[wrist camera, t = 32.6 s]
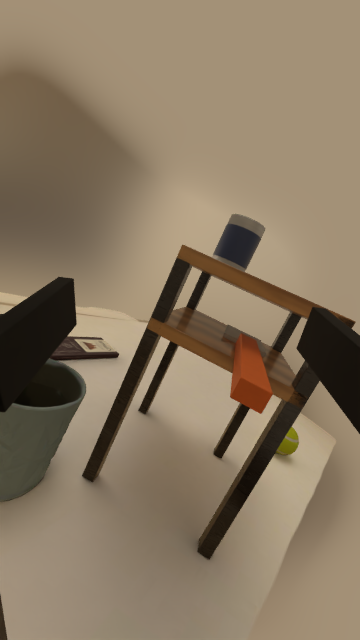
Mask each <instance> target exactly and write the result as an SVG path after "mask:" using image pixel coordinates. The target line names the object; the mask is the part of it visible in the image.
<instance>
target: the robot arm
mask: <svg viewBox="0 0 360 640" xmlns="http://www.w3.org/2000/svg"><path fill="white" fill-rule="evenodd" d="M76 324H77V323H76V308H75V294H74V279H72V278H63V277H58V278H57V279H55V280H54V281H52V282H51V283H49V284H48V285H46V286H45V287H43V288H42V289H40V290H39V291H37V292H36V293H34V294H33V295H31V296H30V297H28V298H27V299H25V300H24V301H22V302H21V303H19V304H18V305H17V306H15V307H14V308H12V309H11V310H9V311H8V312H6V313H5V314H0V412H6V411H7V410H8V408H9V407H10V406H11V405H12V403H13V402H14V401H15V400H16V399H17V397H18V396H19V395H20V394H21V392H22V391H23V390H24V389H25V387H26V386H27V385H28V384H29V382H30V381H31V380H32V379H33V378H34V376H35V375H36V374H37V373H38V371H39V370H40V369H41V368H42V366H43V365H44V364H45V363H46V361H47V360H48V359H49V358H50V357H51V355H52V354H53V353H54V352H55V350H56V349H57V348H58V347H59V345H60V344H61V343H62V342H63V340H64V339H65V338H66V337H67V336H68V334H69V333H70V332H71V331H72V329H73V328H74V327H75V326H76ZM297 350H298V351H299V353H300V354H301V355H302V357H303V358H304V359H305V361H306V362H307V363H308V365H309V366H310V367H311V369H312V370H313V372H314V373H315V374H316V376H317V377H318V378H319V380H320V381H321V382H322V384H323V385H324V386H325V388H326V389H327V390H328V392H329V393H330V395H331V396H332V397H333V398H334V400H335V401H336V403H337V404H338V405H339V407H340V408H341V409H342V411H343V412H344V413H345V415H346V416H347V418H348V419H349V420H350V421H351V423H352V424H353V426H354V427H355V428H356V430H357V431H358V432H359V434H360V335H358V334H357V333H356V332H355V331H353V330H352V329H351V328H350V327H348V326H347V325H346V324H345V323H343V322H342V321H341V320H340V319H338V318H337V317H336V316H335V315H333V314H332V313H331V312H330V311H328V310H327V309H326V308H318V307H312V309H311V312H310V315H309V317H308V320H307V322H306V325H305V328H304V330H303V333H302V335H301V338H300V341H299V343H298V346H297ZM0 640H7V634H6V628H5V621H4V615H3V608H2V602H1V596H0Z"/></svg>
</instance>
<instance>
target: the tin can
mask: <svg viewBox="0 0 360 640" xmlns="http://www.w3.org/2000/svg"><path fill="white" fill-rule="evenodd" d="M264 231H265V228H264V226H263V225H261V224H260V223H258V222H257V221H255V220H253V219H251V218H249V217H246V216H243V215H239V214H232V216H231V218H230V220H229V222H228V224H227V226H226V228H225V230H224V232H223V234H222V236H221V238H220V241H219V243H218V245H217V247H216V249H215V251H214V254H213V256H212V258H214V259H216V260H219V261H221V262H223V263H225V264H228V265H230V266H232V267H234V268H236V269H239V270H241V271H243V272H245V270H246V268H247V266H248V264H249V262H250V260H251V258H252V256H253V254H254V252H255V250H256V248H257V246H258V244H259V242H260V240H261V238H262V235H263V233H264Z"/></svg>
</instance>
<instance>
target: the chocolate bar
mask: <svg viewBox="0 0 360 640" xmlns="http://www.w3.org/2000/svg"><path fill="white" fill-rule="evenodd" d="M118 356H119V354H118V353H117V352H116V351H115V350H114V349H113V348H112V347H111V346H110V345H109V344H108V343H106V342H105V341H104V340H103V339H102V338H95V337H68V336H67V337H66V338H65V339H64V340H63V342H62V343H61V344H60V345H59V347H58V348H57V349H56V350H55V352H54V353H53V354H52V355H51V357H50V359H53V360H63V359H87V358H112V357H118Z"/></svg>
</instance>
